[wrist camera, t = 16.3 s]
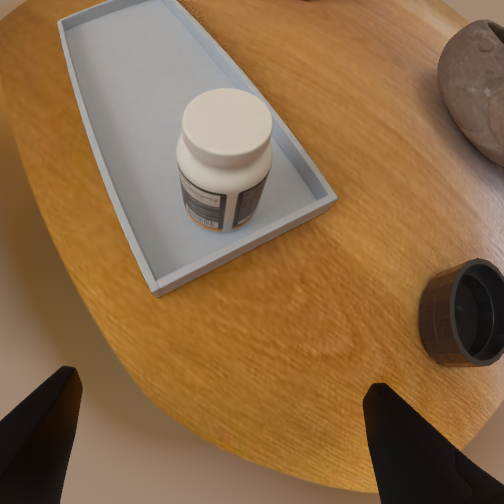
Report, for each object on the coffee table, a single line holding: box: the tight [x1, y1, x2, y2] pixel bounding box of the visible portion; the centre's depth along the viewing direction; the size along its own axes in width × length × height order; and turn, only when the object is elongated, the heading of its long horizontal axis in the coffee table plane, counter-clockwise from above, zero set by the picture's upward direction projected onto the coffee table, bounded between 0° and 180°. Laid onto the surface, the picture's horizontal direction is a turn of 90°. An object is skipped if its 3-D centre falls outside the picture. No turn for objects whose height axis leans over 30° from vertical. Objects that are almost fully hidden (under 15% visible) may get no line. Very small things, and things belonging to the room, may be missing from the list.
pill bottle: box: [176, 88, 273, 233], centre depth 20 cm, size 6×6×10 cm
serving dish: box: [57, 0, 338, 298], centre depth 27 cm, size 15×39×2 cm, turn 30°
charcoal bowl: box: [419, 258, 504, 368], centre depth 23 cm, size 9×9×4 cm
